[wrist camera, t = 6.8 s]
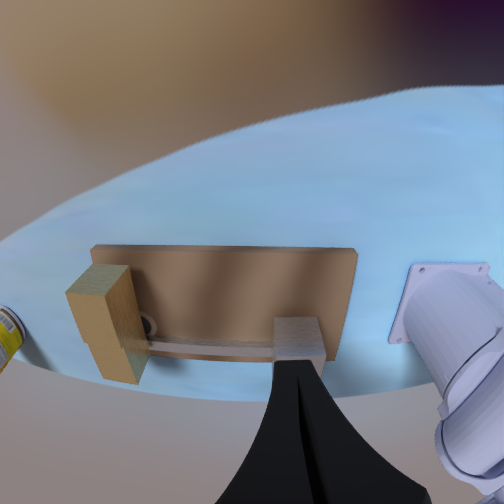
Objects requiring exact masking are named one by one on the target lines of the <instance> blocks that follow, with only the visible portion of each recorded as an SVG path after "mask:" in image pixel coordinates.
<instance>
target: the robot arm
mask: <svg viewBox="0 0 504 504" xmlns="http://www.w3.org/2000/svg"><path fill="white" fill-rule="evenodd" d="M421 268H422V270H421V271H420V269H421ZM489 269H490V265H489V264H488V263H414V264H413V265H412V266H411V268H410V271H409V275H408V278H407V282H406V285H405V289H404V292H403V296H402V299H401V302H400V306H399V309H398V312H397V315H396V318H395V321H394V324H393V327H392V330H391V333H390V335H389V338H388V341H389V343H390V344H400V343H409V342H413V344H414V345H415V347H416V349H417V351H418V353H419V354H420V356H421V358H422V360H423V362H424V364H425V365H426V367H427V369H428V371H429V373H430V375H431V377H432V379H433V381H434V382H435V384H436V386H437V388H438V390H439V392H440V394H441V396H442V398H443V402H442V403H441V405H440V406H439V407H438V411H439V413H440V416H441V418H442V420H441V421H440V423H439V424H438V426H437V428H436V431H435V447H436V451H437V455H438V458H439V460H440V462H441V464H442V466H443V467H444V468H445V470H446V471H447V472H448V473H449V474H451V475H452V476H453V477H455V478H457V479H459V480H462V481H465V482H468V483H470V484H472V485H473V486H475V487H476V488H477V489H478V490H479V491H480V492H481V493H482V494H483V495H489V496H487V497H486V498H484V499H483V500H481V501H479V502H478V503H476V504H504V290H503V289H502V288H501V287H500V286H499V285H498V284H497V283H496V282H495V281H494V280H493V279H491V278H490V277H489V276H488V272H489ZM398 338H399V339H398ZM215 504H432V502H431V499H430V496H429V494H428V492H427V490H426V488H425V487H423V486H421V485H420V484H418V483H416V482H415V481H413V480H412V479H410V478H409V477H407V476H406V475H404V474H403V473H401V472H400V471H399V470H397V469H396V468H395V467H393V466H392V465H391V464H390V463H389V462H387V461H386V460H385V459H384V458H383V457H382V456H381V455H379V454H378V453H377V452H376V451H375V450H374V449H373V448H372V447H371V446H370V445H369V444H368V443H367V442H366V441H365V440H364V439H363V438H362V436H361V435H360V434H359V433H358V432H357V431H356V430H355V428H354V427H353V426H352V425H351V424H350V422H349V421H348V420H347V419H346V417H345V416H344V415H343V413H342V412H341V411H340V409H339V407H338V406H337V405H336V403H335V402H334V400H333V398H332V397H331V395H330V394H329V392H328V391H327V389H326V387H325V386H324V384H323V382H322V380H321V379H320V377H319V375H318V373H317V371H316V369H315V367H314V365H313V363H312V361H311V360H310V359H307V360H277V361H275V362H274V368H273V380H272V390H271V394H270V398H269V402H268V405H267V409H266V412H265V415H264V417H263V420H262V423H261V425H260V428H259V430H258V433H257V435H256V437H255V440H254V442H253V444H252V446H251V448H250V450H249V452H248V454H247V456H246V458H245V459H244V461H243V463H242V465H241V467H240V468H239V470H238V471H237V473H236V475H235V476H234V478H233V479H232V481H231V482H230V484H229V485H228V487H227V488H226V490H225V491H224V493H223V494H222V495H221V496H220V498H219V499H218V500H217V502H216V503H215Z"/></svg>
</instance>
